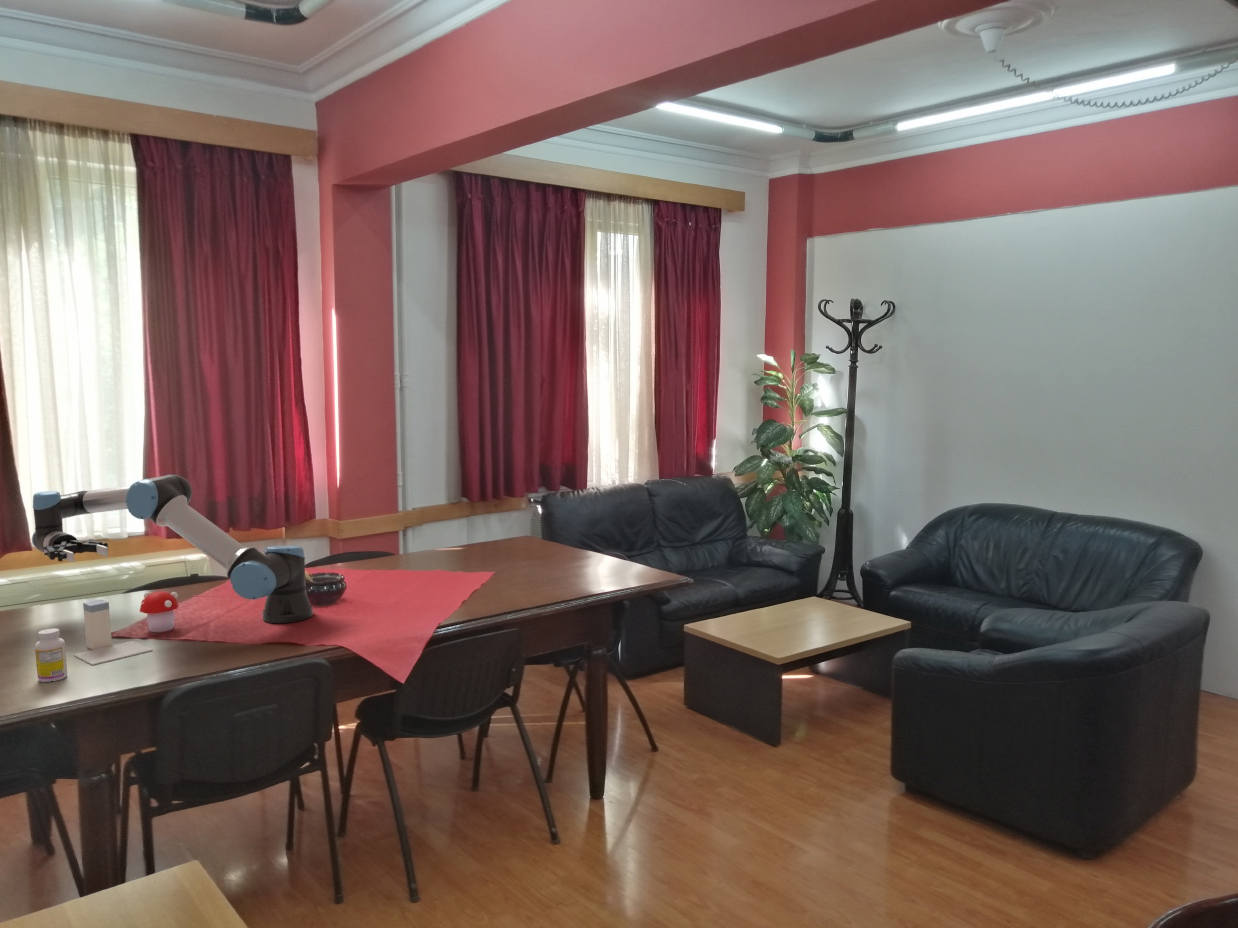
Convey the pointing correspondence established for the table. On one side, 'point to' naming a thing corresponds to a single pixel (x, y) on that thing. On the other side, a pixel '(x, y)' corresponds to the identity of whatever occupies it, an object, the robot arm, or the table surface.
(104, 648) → the felt mat
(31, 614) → the table surface
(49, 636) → the supplement bottle
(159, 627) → the mushroom
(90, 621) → the cream block
